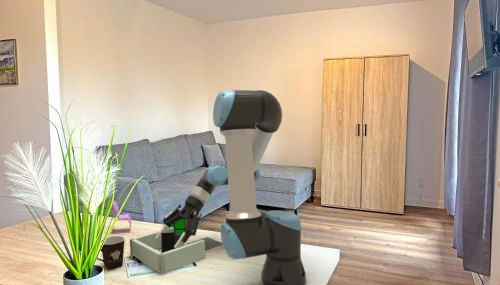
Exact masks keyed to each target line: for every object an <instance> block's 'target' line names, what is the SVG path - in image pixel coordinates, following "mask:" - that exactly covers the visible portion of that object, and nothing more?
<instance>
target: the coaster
mask: <svg viewBox="0 0 500 285" xmlns="http://www.w3.org/2000/svg"><path fill="white" fill-rule="evenodd" d="M200 240H204V241H205V251H207V250H211V249H212V248H215V247H218V246H221V245H223V242H222V241H219V240H217V239H213V238H212V237H210V236H205V237H202V238H200V239H196V240H194V241H191V242H188V243H187V242H186V243H187V244H186V245H188V244H191V243H194V242H197V241H200Z"/></svg>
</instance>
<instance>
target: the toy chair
mask: <svg viewBox="0 0 500 285" xmlns="http://www.w3.org/2000/svg"><path fill="white" fill-rule="evenodd" d="M112 205H113V207H112V210H113V216H114V217H113V219H114V218H115V217H116V215H117V214H118V215H119V218H118V220H117V221H128V223H129V229H128V234H130V231H131V227H132V218H131V216H130V213H126V214H119V210H120V207H119V205H118V202H117V201H116V200H113V201H112ZM117 221H116V222H117ZM114 228H115V226H114V227H113V229H112V228H111V230H110V231H111V233H110V235H111V234H112V235H113V231H114Z"/></svg>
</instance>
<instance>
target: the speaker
mask: <svg viewBox="0 0 500 285" xmlns="http://www.w3.org/2000/svg"><path fill="white" fill-rule="evenodd" d="M179 239H180V234H178V233H175V232H169V233H161V245H162V248H161V253H164V252H167V251H170V250H173V249H176V248H175V247H174V246H175V245H176V243H177V242H178V240H179Z"/></svg>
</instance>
